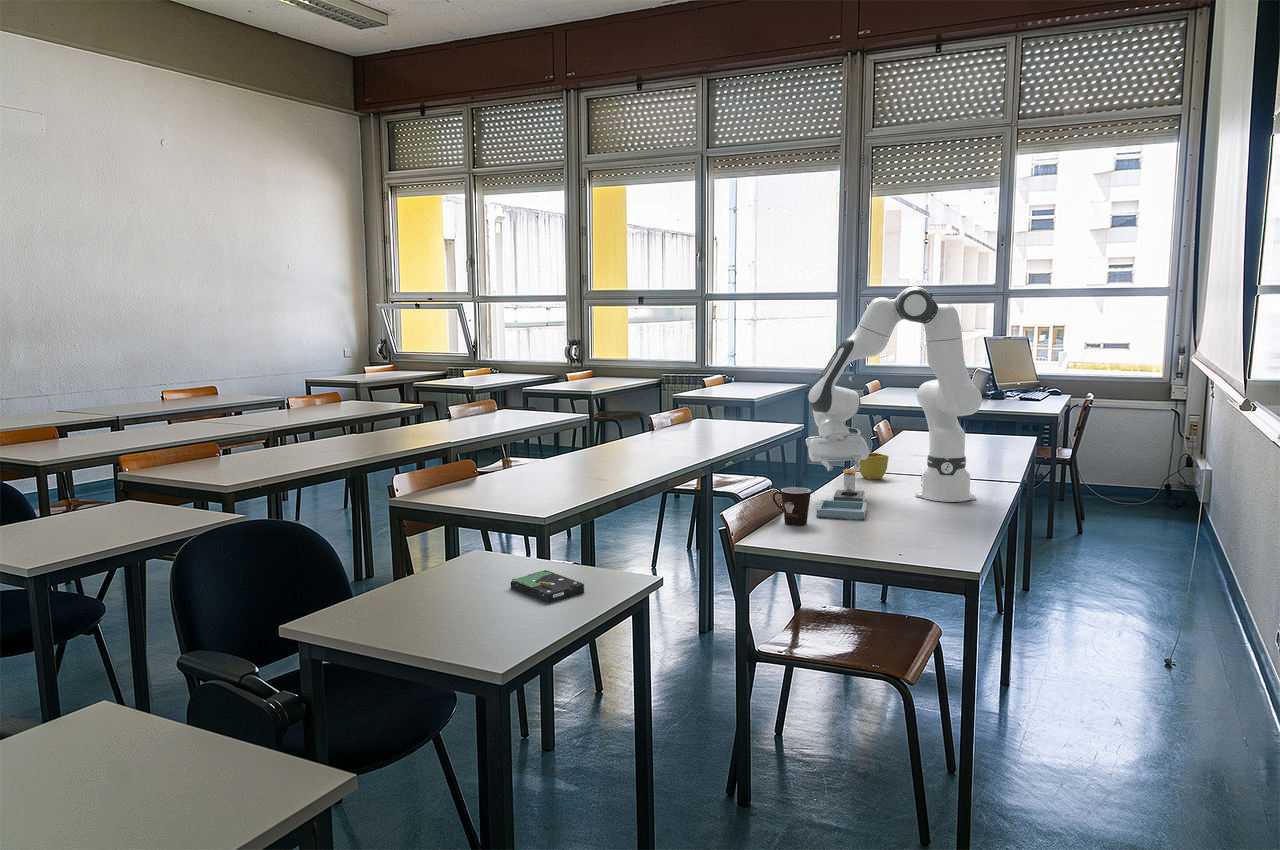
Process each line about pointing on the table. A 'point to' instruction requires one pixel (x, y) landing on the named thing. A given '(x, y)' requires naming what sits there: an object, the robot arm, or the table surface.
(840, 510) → the tray
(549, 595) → the disk drive
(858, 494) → the socket block
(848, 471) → the orange capped bottle
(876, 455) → the flower pot
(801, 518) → the coffee mug
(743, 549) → the table surface
